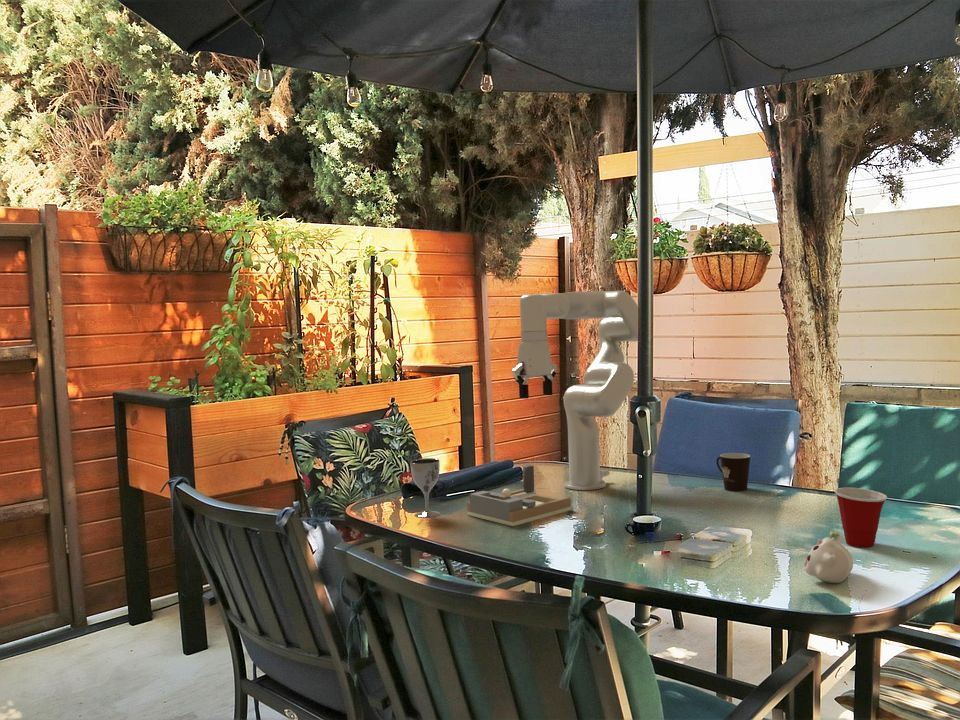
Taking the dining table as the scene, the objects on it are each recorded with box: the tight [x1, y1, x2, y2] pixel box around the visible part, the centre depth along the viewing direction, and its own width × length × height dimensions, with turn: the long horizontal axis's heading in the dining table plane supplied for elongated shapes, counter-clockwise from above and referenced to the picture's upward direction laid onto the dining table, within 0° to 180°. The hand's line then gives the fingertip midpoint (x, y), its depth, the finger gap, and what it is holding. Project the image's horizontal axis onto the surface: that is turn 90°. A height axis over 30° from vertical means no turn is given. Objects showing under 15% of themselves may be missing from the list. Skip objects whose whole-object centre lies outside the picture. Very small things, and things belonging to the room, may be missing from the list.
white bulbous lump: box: [804, 530, 854, 584], centre depth 164 cm, size 10×8×15 cm
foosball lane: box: [466, 488, 572, 527], centre depth 227 cm, size 22×18×6 cm
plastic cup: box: [834, 487, 888, 549], centre depth 186 cm, size 11×11×12 cm
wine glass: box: [410, 457, 441, 519], centre depth 228 cm, size 8×8×15 cm
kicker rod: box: [489, 464, 537, 507], centre depth 227 cm, size 12×18×11 cm, turn 41°
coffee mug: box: [716, 452, 751, 493], centre depth 246 cm, size 12×9×10 cm
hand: (536, 396), depth 239 cm, fingers open, 9 cm apart
